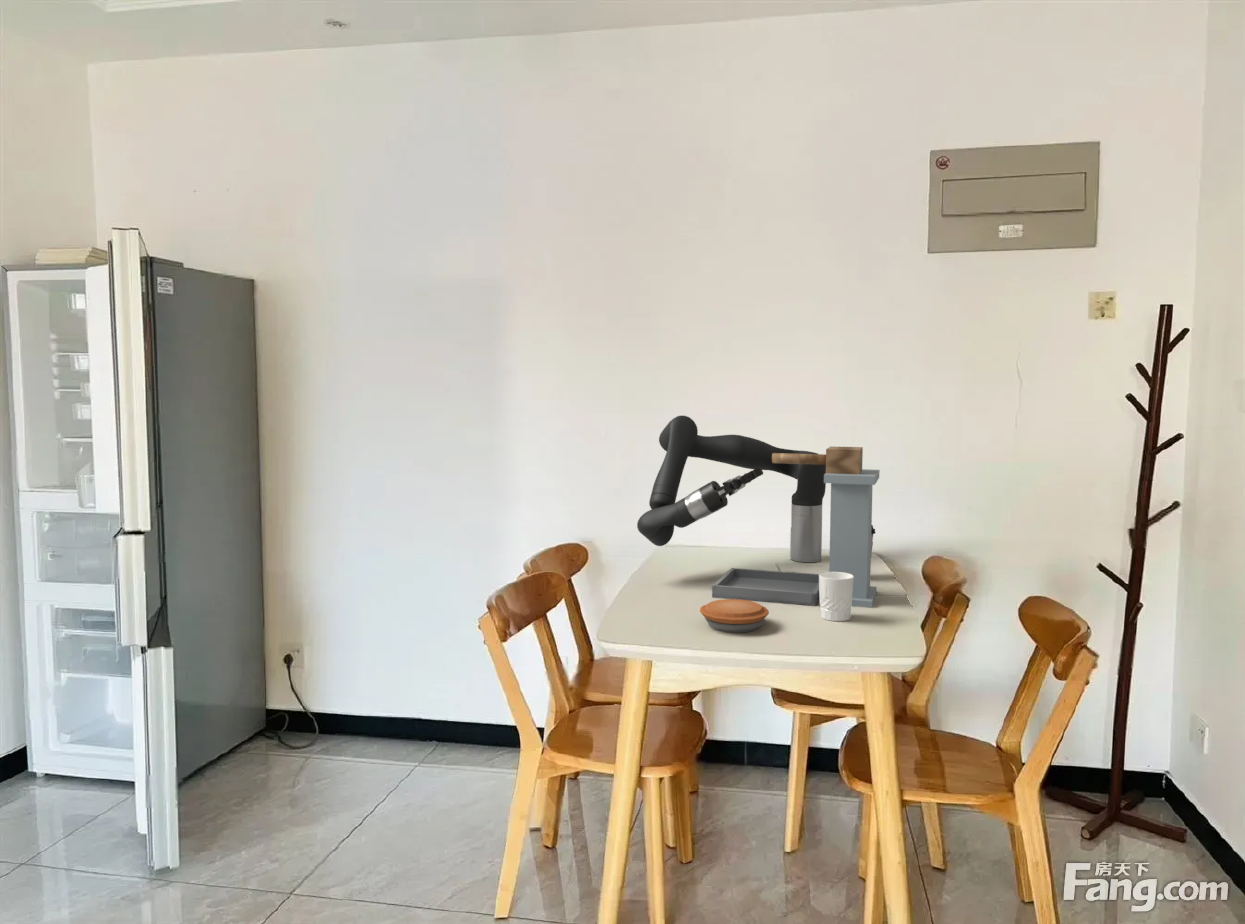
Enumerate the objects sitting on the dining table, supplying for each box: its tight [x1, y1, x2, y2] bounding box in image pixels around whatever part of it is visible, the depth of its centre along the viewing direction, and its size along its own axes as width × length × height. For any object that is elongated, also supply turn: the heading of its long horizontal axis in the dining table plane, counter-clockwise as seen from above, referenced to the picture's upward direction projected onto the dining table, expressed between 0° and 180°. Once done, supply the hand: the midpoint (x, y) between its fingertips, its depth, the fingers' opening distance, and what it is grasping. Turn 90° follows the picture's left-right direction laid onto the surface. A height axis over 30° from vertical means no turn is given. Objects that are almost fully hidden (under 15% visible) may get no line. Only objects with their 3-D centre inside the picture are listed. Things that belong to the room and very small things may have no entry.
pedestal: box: [824, 468, 880, 608], centre depth 219 cm, size 12×16×32 cm
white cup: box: [818, 571, 854, 622], centre depth 202 cm, size 8×8×10 cm
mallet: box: [772, 446, 864, 474], centre depth 220 cm, size 22×9×6 cm, turn 70°
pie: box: [699, 598, 770, 633], centre depth 196 cm, size 15×16×5 cm
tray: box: [711, 567, 820, 607], centre depth 227 cm, size 26×22×3 cm
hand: (758, 471), depth 226 cm, fingers open, 8 cm apart
